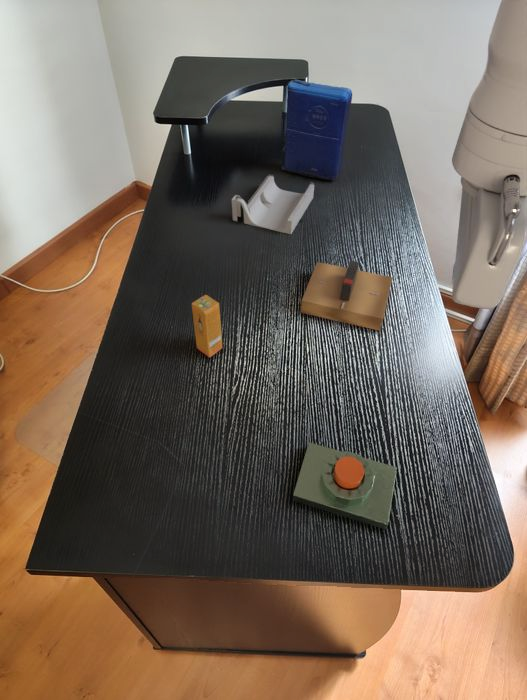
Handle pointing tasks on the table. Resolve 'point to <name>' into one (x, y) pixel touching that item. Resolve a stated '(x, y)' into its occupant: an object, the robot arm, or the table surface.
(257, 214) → the white curved channel piece
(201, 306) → the supplement box
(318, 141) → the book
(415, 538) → the table surface
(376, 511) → the button box
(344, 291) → the dark grey block
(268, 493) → the table surface
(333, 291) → the control panel
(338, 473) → the button
